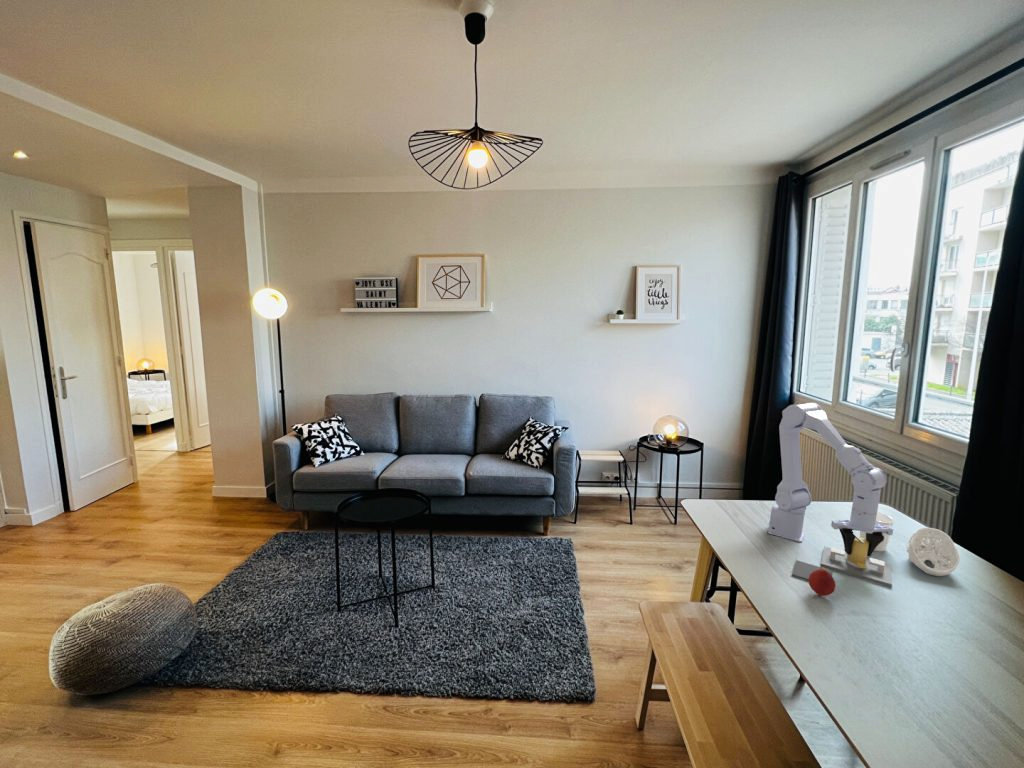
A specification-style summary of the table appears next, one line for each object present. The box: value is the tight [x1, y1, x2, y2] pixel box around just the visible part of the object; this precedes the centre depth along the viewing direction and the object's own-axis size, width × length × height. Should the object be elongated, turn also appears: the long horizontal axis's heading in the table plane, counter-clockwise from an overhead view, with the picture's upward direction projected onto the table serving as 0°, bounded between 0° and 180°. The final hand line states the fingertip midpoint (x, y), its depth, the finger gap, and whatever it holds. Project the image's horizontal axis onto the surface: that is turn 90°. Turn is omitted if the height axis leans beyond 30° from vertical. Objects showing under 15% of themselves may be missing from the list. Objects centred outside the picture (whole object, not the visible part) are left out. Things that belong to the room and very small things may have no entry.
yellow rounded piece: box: [846, 535, 869, 569], centre depth 133 cm, size 8×4×7 cm, turn 168°
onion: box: [807, 566, 837, 597], centre depth 120 cm, size 6×6×8 cm
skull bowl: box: [906, 527, 960, 577], centre depth 134 cm, size 10×14×12 cm
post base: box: [820, 546, 893, 588], centre depth 134 cm, size 16×12×4 cm
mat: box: [791, 559, 834, 582], centre depth 130 cm, size 9×9×1 cm
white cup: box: [859, 511, 894, 552], centre depth 145 cm, size 8×8×10 cm
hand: (857, 553), depth 133 cm, fingers closed on yellow rounded piece, 4 cm apart
